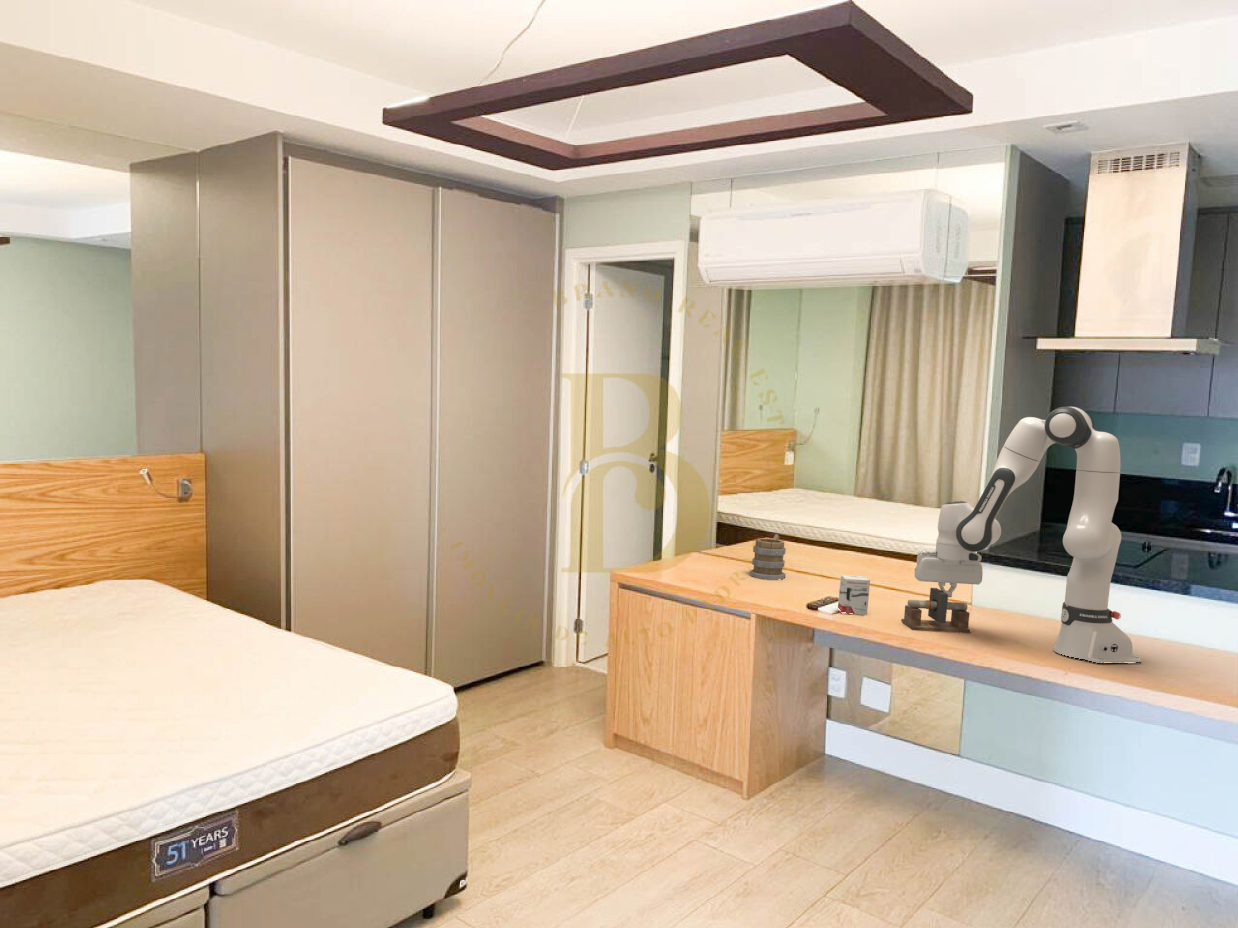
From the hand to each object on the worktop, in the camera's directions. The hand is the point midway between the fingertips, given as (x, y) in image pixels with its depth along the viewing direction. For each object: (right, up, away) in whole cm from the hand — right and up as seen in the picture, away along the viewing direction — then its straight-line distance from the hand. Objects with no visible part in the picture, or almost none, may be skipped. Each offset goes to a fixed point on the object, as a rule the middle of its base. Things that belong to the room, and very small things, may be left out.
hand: (946, 596), depth 286 cm
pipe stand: (-3, -10, 0) cm, 10 cm away
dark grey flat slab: (-3, -7, 0) cm, 8 cm away
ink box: (-26, -7, +13) cm, 30 cm away
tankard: (-43, -2, +69) cm, 82 cm away
